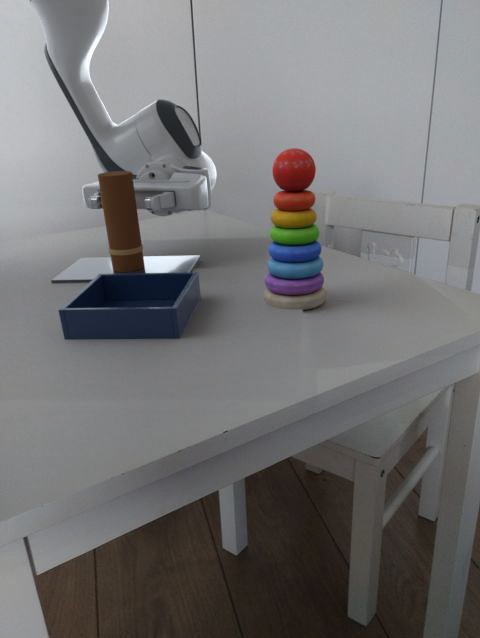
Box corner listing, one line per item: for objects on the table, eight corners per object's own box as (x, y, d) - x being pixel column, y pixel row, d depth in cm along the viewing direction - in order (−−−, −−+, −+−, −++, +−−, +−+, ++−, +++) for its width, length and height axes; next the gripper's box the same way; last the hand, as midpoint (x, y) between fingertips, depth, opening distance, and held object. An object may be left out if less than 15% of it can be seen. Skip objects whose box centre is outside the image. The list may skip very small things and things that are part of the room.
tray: (65, 344, 64) (58, 310, 63) (104, 303, 76) (99, 273, 74) (180, 343, 63) (176, 308, 61) (201, 302, 75) (198, 272, 73)
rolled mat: (107, 272, 86) (91, 176, 80) (118, 263, 90) (103, 171, 84) (140, 272, 85) (126, 175, 79) (148, 262, 90) (136, 170, 84)
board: (52, 286, 84) (50, 280, 83) (82, 263, 95) (80, 257, 94) (185, 284, 82) (185, 277, 82) (200, 261, 93) (200, 255, 92)
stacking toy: (333, 310, 70) (335, 150, 62) (270, 316, 69) (263, 154, 61) (317, 289, 77) (317, 144, 70) (259, 295, 76) (253, 147, 69)
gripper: (106, 168, 97) (56, 181, 85) (217, 168, 91) (180, 182, 79) (112, 206, 100) (64, 223, 88) (220, 208, 94) (185, 227, 82)
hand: (120, 204), depth 84 cm, fingers open, 8 cm apart
